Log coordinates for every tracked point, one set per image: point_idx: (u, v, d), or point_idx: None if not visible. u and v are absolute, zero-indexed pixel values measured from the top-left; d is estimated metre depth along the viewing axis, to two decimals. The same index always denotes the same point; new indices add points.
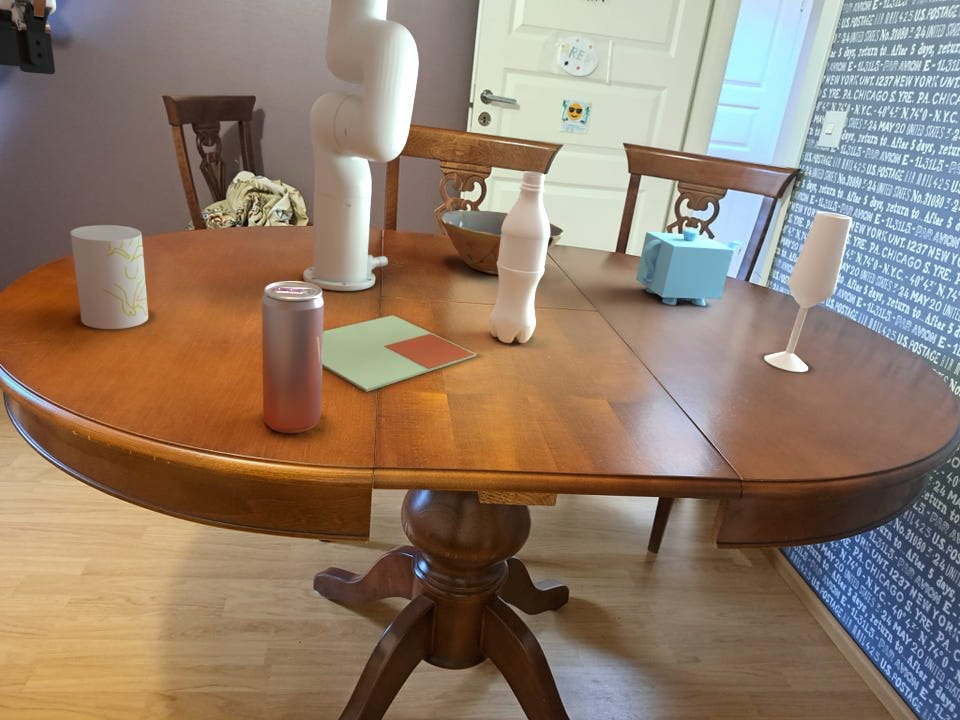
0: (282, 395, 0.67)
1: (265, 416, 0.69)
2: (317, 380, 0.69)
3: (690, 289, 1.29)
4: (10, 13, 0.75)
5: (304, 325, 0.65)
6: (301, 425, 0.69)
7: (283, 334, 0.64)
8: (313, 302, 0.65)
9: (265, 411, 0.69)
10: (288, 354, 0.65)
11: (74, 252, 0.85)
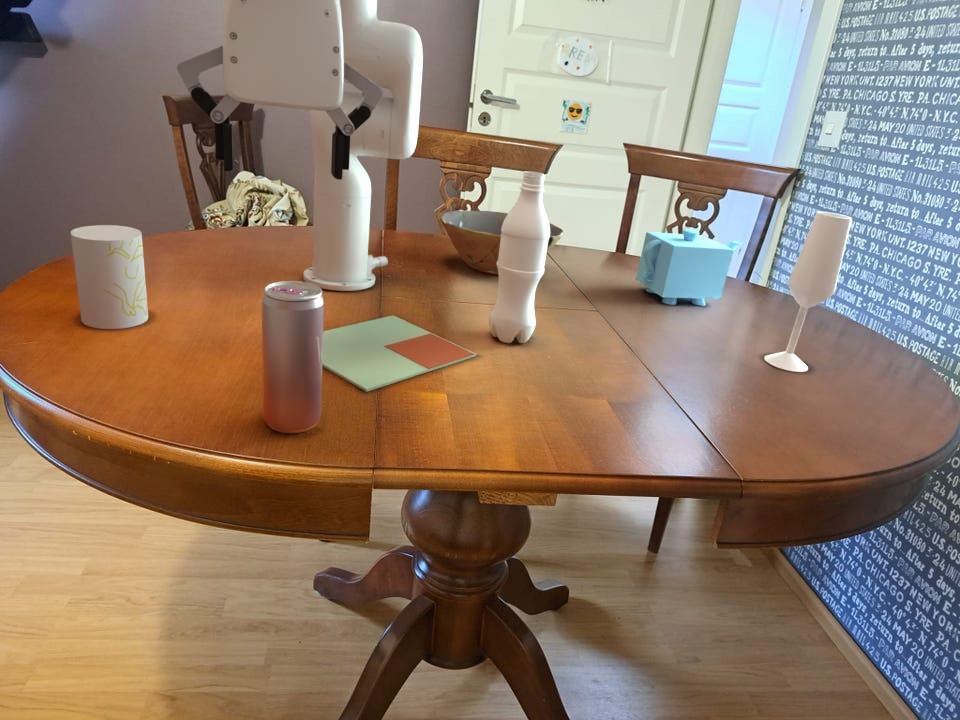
0: (282, 395, 0.67)
1: (265, 416, 0.69)
2: (317, 380, 0.69)
3: (690, 289, 1.29)
4: None
5: (304, 325, 0.65)
6: (301, 425, 0.69)
7: (283, 333, 0.64)
8: (313, 302, 0.65)
9: (265, 411, 0.69)
10: (288, 354, 0.65)
11: (74, 252, 0.85)
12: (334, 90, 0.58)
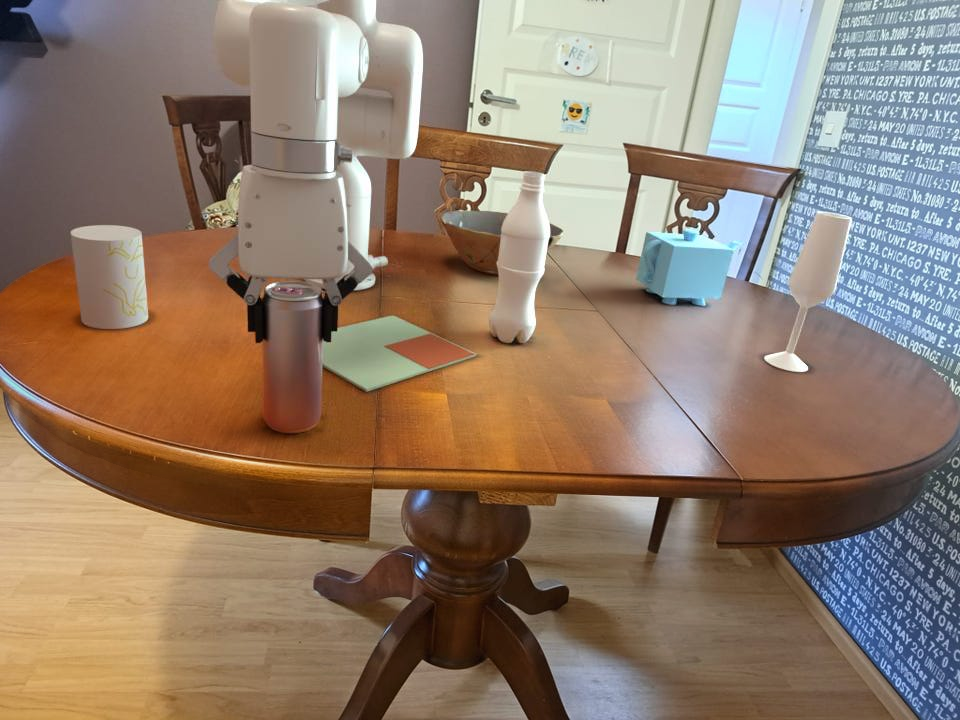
0: (282, 395, 0.67)
1: (265, 416, 0.69)
2: (317, 380, 0.69)
3: (690, 289, 1.29)
4: None
5: (304, 325, 0.65)
6: (301, 425, 0.69)
7: (283, 333, 0.64)
8: (313, 302, 0.65)
9: (265, 411, 0.69)
10: (288, 354, 0.65)
11: (74, 252, 0.85)
12: (339, 262, 0.64)
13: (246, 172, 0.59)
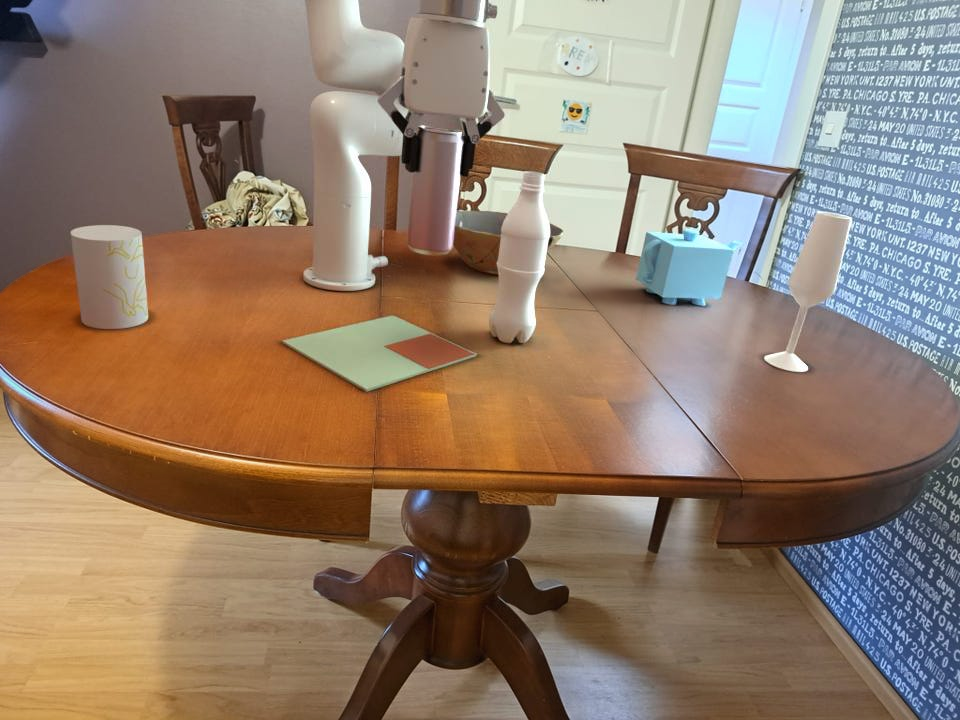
0: (429, 218, 0.81)
1: (410, 240, 0.83)
2: (455, 209, 0.83)
3: (690, 289, 1.29)
4: None
5: (451, 156, 0.79)
6: (441, 247, 0.83)
7: (434, 162, 0.79)
8: (459, 137, 0.79)
9: (411, 236, 0.83)
10: (436, 181, 0.79)
11: (74, 252, 0.85)
12: (481, 103, 0.78)
13: (416, 19, 0.73)
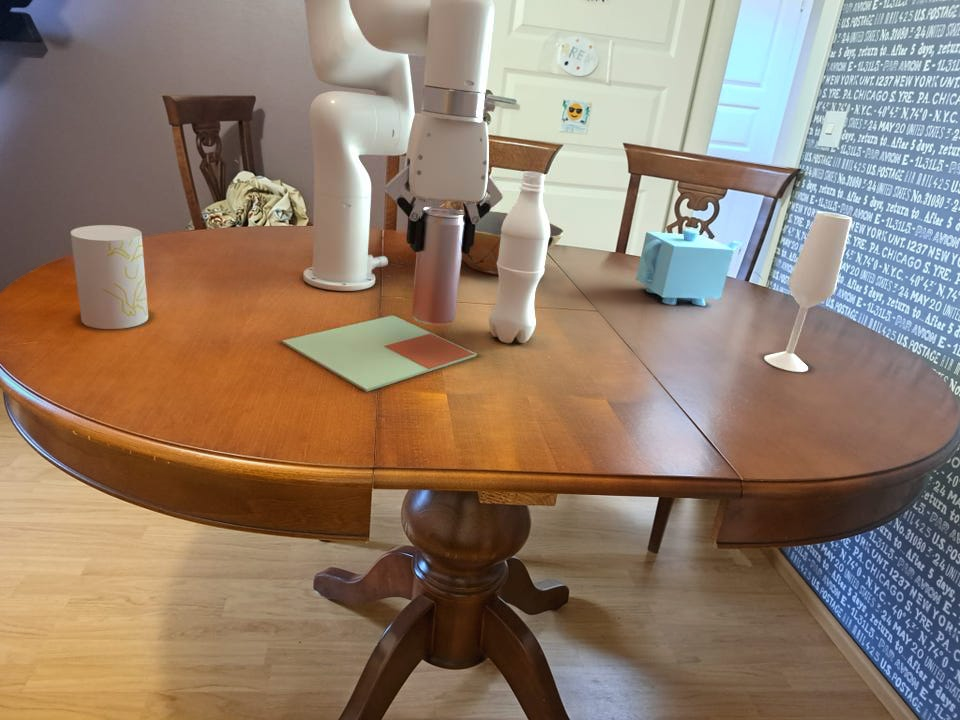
0: (432, 293, 0.87)
1: (415, 313, 0.89)
2: (457, 284, 0.88)
3: (690, 289, 1.29)
4: None
5: (453, 237, 0.84)
6: (444, 319, 0.89)
7: (437, 243, 0.84)
8: (460, 219, 0.84)
9: (416, 308, 0.89)
10: (440, 260, 0.85)
11: (74, 252, 0.85)
12: (481, 189, 0.84)
13: (420, 116, 0.79)
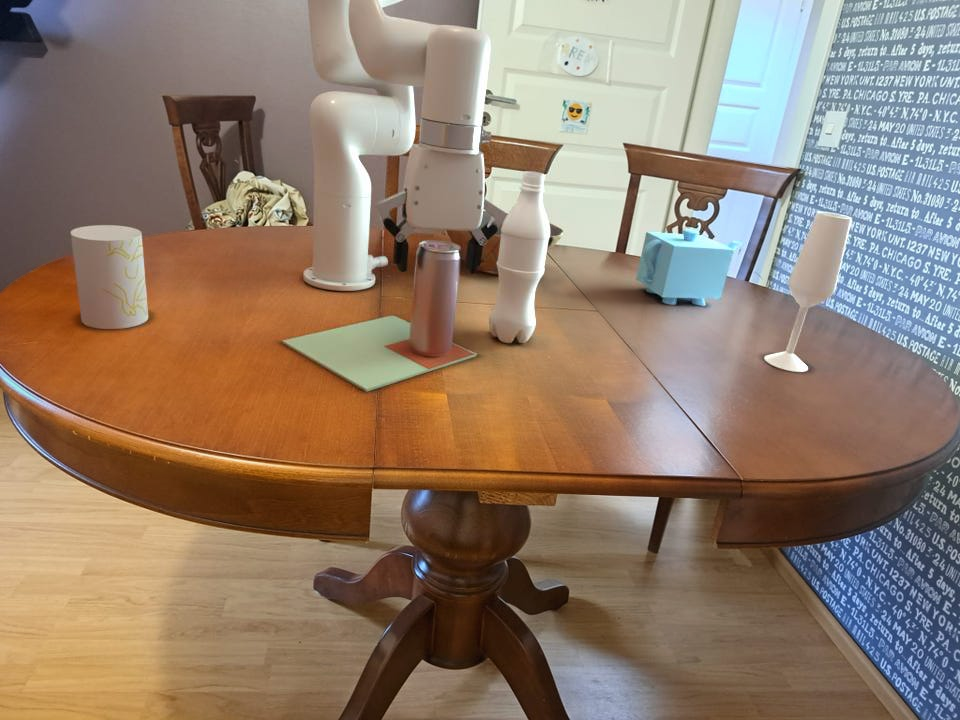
0: (429, 325, 0.89)
1: (412, 344, 0.91)
2: (453, 316, 0.90)
3: (690, 289, 1.29)
4: None
5: (450, 271, 0.86)
6: (440, 350, 0.91)
7: (434, 278, 0.86)
8: (456, 254, 0.86)
9: (413, 340, 0.91)
10: (436, 294, 0.87)
11: (74, 252, 0.85)
12: (477, 218, 0.85)
13: (418, 148, 0.80)
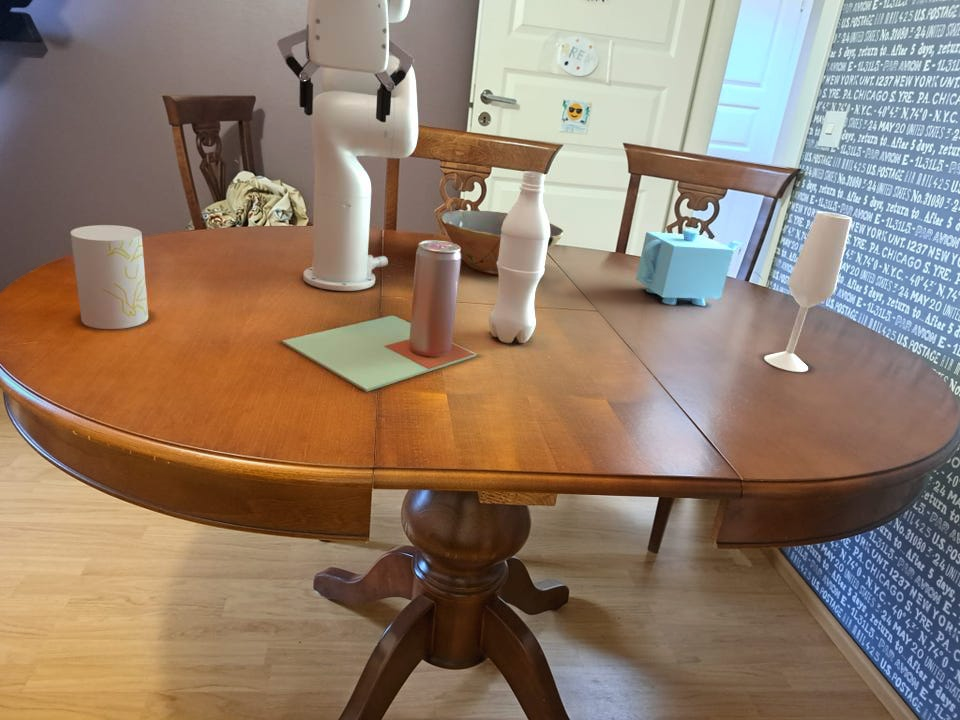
0: (429, 325, 0.89)
1: (412, 344, 0.91)
2: (453, 316, 0.90)
3: (690, 289, 1.29)
4: None
5: (449, 271, 0.86)
6: (440, 350, 0.91)
7: (434, 278, 0.86)
8: (456, 254, 0.86)
9: (413, 340, 0.91)
10: (436, 294, 0.87)
11: (74, 252, 0.85)
12: (382, 58, 0.85)
13: None
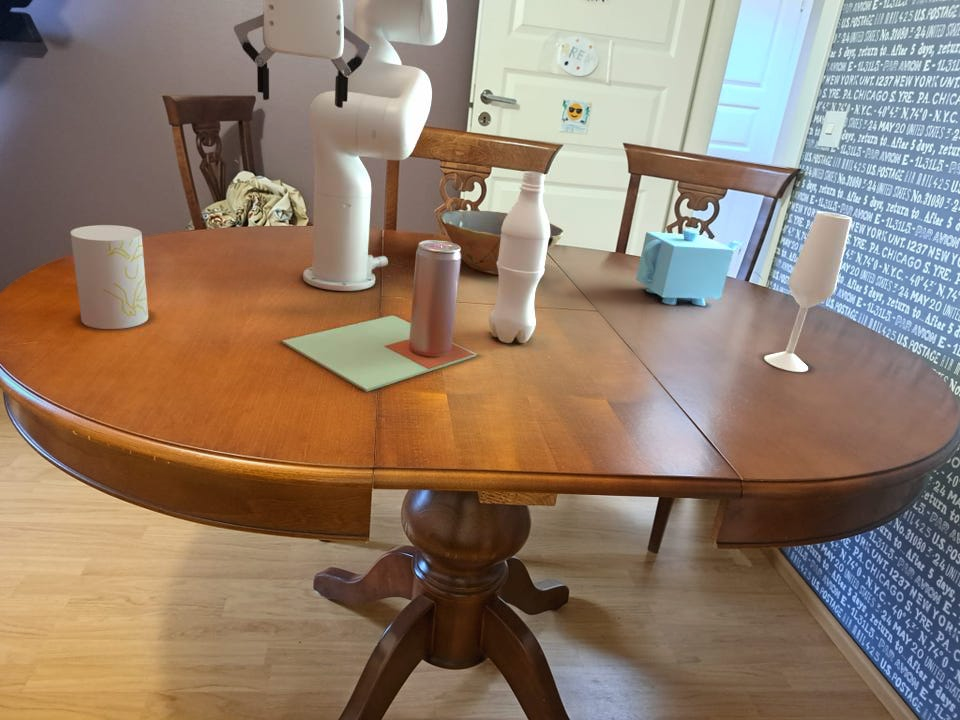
0: (429, 325, 0.89)
1: (412, 344, 0.91)
2: (453, 316, 0.90)
3: (690, 289, 1.29)
4: None
5: (449, 271, 0.86)
6: (440, 350, 0.91)
7: (434, 278, 0.86)
8: (456, 254, 0.86)
9: (413, 340, 0.91)
10: (436, 294, 0.87)
11: (74, 252, 0.85)
12: (337, 45, 0.87)
13: None
